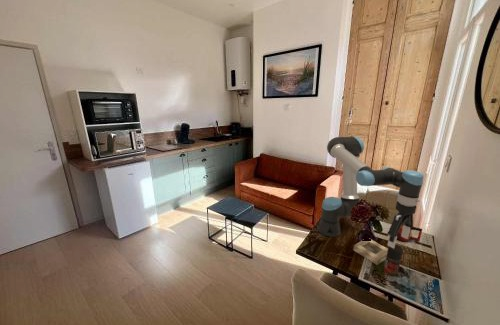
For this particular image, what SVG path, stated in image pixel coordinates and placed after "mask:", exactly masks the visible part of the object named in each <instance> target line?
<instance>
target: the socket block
mask: <svg viewBox="0 0 500 325" xmlns="http://www.w3.org/2000/svg"><path fill="white" fill-rule="evenodd" d="M352 251H354V252H355V253H357V254H359V255H361V256H362V257H364V258H365V259H367V260H368V261H370V262H372V263H373V264H374V265H376V266H378V265H380V264H381V263H382V262H384V261H386V256H387V252H388V247H385V246H384V245H381V244H380V243H378V242H376V241H375V240H373V239H371V241H362V240H360V241H359V242H357V243H356V244H354V245H353V249H352Z"/></svg>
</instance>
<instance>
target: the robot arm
mask: <svg viewBox="0 0 500 325" xmlns="http://www.w3.org/2000/svg"><path fill="white" fill-rule="evenodd" d="M364 149H365V145H364V141H363V139H361V138H360V137H359V136H336V137H333V138H331V139H330V140H329V141H328V143H327V145H326V150H327V153H328V154H329V156H331V157H332V158H334V159H337V160H338V161H339V162H340V163H341V164H342V194H341V195H340V198H339V197H336V196H335V197H334V196H328V197H325V198H323V201H322V205H321V216H320V219H319V222H318V223H317V226H316V227H317V231H318V232H319V233H320V234H322V235H323V236H327V237H332V238H334V237H338V236H340V235H341V231H342V230H341V226H340V218H349V217H352V216H351V209H352V208H353V207H354V206H355V204H356V203H357V202H359V201H360V200H362V199H360V196H359V195H358V185H360V186H361V187H371V186H386V185H387V186H388V185H391V186H394V187H396V188H399V191H398V195H397V198H396V199H397V200H396V203H395V204H396V205H395V209H396V211H398V213H397V214H395V215H394V216H393V220H392V222H391V225H390V227H389V229H388V231H387V235H388V236H389V237H388V241H387V246H388V247H389V246H390V247H392V248H393V249H394V247H395V245H396V244H397V240H396V239H397V236H396V235H397V233H398V231H399V230H400V228H401V226H402V225H403V229H402V234H401V237H404V238H406V239H408V235H409V231H410V227H414V214H415V213H416V211H417V207H418V206H417V205H418V203H420V200H419V199H420V193H421V189H422V186H423V185H424V177H425V176H424V174H423V173H422V172H420V171H417V170H411V169H407V170H403V171H400V170H398V169H396V168H394V167H390V166H385V167H383V168H381V169H373V168H371V167H370V166H368V164H366V163H364V162H363V161H362V160H361V159H359V158H360V154H362V153H364V152H363V151H364ZM404 224H405V225H404ZM411 224H412V225H411Z"/></svg>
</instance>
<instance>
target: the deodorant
mask: <svg viewBox="0 0 500 325" xmlns="http://www.w3.org/2000/svg"><path fill="white" fill-rule="evenodd" d="M387 248H388V252H387V256H386V259H385V260H384V261H385V262H384V265H383V272H384V274H386V275H387V276H389V275H390V277H397V276H398V272H399V268H400V265H401V260H402V257H403V252H404V249H403V247H401V246H400V245H398V244H395V247H394V249H393V248H392V247H390V246H388V247H387Z"/></svg>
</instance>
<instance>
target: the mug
mask: <svg viewBox="0 0 500 325" xmlns="http://www.w3.org/2000/svg"><path fill="white" fill-rule="evenodd" d="M404 225H405V224H404ZM411 225H412V224H411ZM402 229H403V225H402V226H401V228H400V230H399V231H398V233H397V235H396V236H397V239H396V242H397V241H398V242H400V243H408V242H409V241H410V240H412V241H415V242H420V240H421V236H422V232H423V228H420V227H416V226H413V227H410V231H409V235H408V239H406V238H404V237H401V234H402ZM412 231H417V232H418V235H417V237H414V236H411V233H412Z"/></svg>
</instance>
